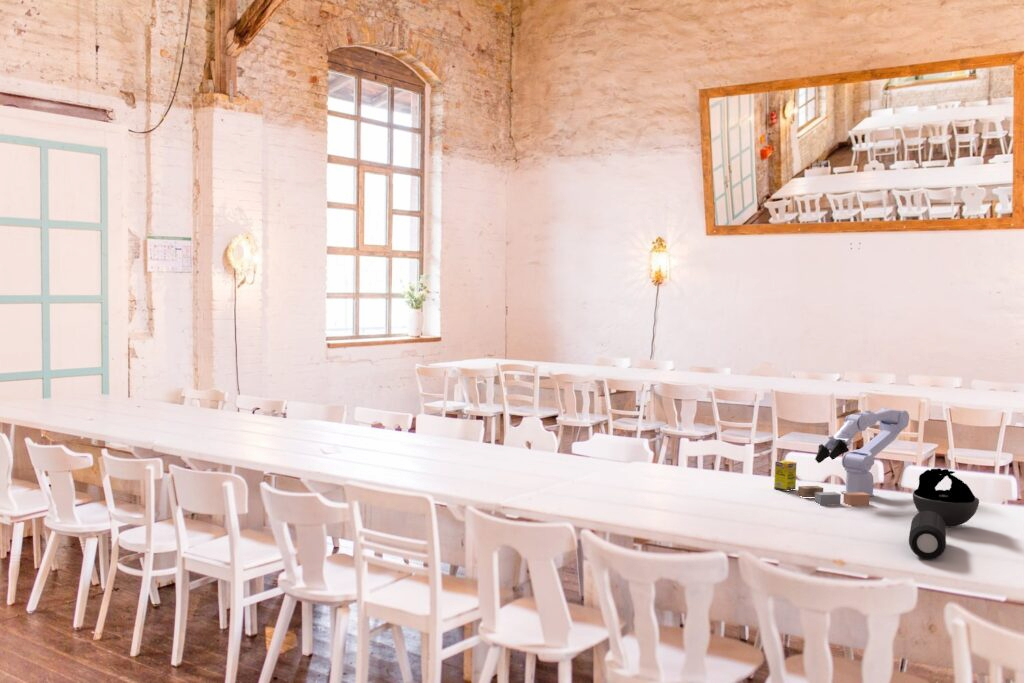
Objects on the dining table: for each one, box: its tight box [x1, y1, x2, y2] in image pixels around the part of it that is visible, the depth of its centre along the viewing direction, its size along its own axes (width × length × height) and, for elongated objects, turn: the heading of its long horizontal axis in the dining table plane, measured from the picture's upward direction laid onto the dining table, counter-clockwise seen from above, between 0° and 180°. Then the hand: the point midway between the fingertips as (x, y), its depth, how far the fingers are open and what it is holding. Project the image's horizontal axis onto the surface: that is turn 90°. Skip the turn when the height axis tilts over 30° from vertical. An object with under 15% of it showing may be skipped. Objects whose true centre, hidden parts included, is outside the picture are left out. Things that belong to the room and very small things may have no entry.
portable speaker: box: [908, 511, 947, 560], centre depth 280 cm, size 26×10×10 cm, turn 155°
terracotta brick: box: [842, 492, 871, 506], centre depth 340 cm, size 8×4×4 cm, turn 102°
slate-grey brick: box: [814, 491, 841, 506], centre depth 339 cm, size 8×4×4 cm, turn 102°
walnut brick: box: [797, 485, 824, 497], centre depth 350 cm, size 8×4×4 cm, turn 103°
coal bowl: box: [912, 468, 980, 528], centre depth 309 cm, size 20×20×19 cm
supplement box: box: [773, 459, 797, 491], centre depth 362 cm, size 6×6×11 cm
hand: (824, 459), depth 343 cm, fingers open, 7 cm apart
